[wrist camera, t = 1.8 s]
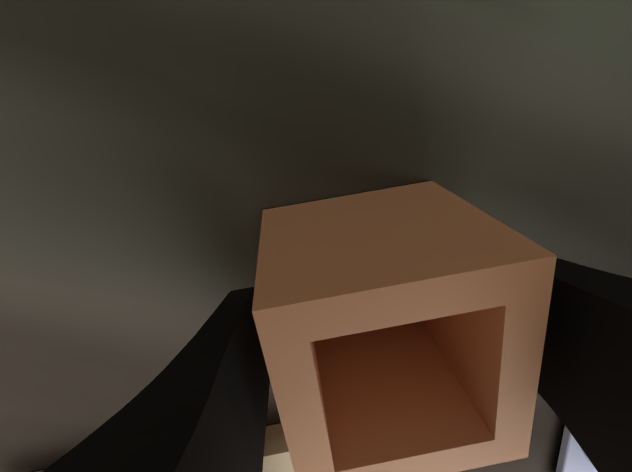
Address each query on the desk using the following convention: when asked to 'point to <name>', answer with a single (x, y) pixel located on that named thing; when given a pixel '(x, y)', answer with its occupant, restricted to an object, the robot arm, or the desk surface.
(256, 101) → the desk surface
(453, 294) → the square collar
